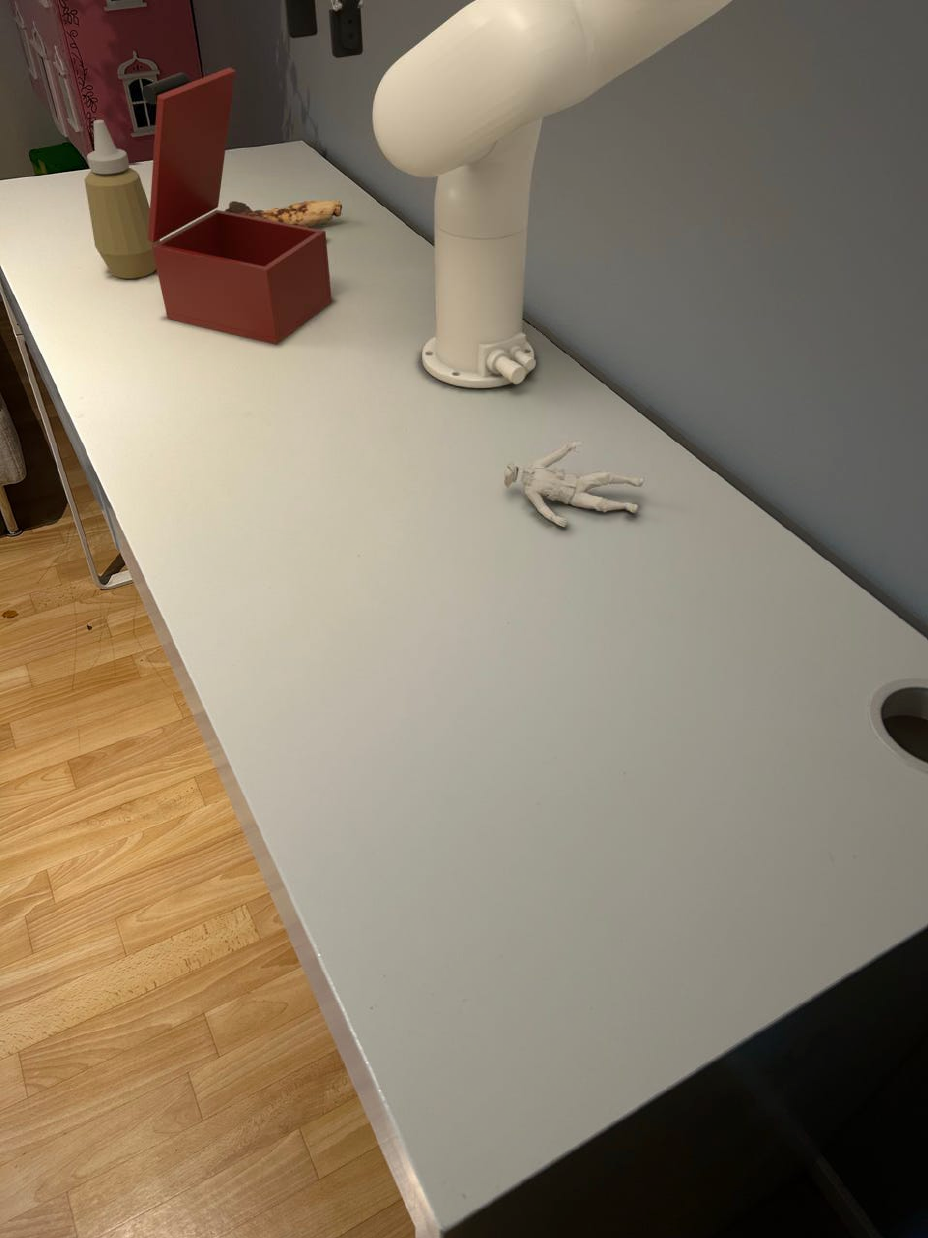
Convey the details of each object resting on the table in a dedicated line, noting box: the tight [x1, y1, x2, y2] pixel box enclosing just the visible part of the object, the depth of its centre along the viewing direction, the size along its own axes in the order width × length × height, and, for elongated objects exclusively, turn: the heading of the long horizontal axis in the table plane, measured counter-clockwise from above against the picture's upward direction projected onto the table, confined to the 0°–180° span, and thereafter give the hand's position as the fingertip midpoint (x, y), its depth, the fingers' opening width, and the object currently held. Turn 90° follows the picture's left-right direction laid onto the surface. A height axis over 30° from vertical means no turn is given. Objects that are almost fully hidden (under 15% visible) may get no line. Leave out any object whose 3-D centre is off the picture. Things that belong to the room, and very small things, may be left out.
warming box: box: [152, 209, 333, 346], centre depth 112 cm, size 16×13×9 cm
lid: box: [141, 67, 236, 243], centre depth 105 cm, size 16×13×5 cm
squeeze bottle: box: [84, 119, 161, 279], centre depth 117 cm, size 8×8×18 cm
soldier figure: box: [503, 441, 645, 528], centre depth 85 cm, size 8×5×12 cm
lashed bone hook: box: [224, 199, 343, 228], centre depth 130 cm, size 9×5×18 cm
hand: (324, 45), depth 96 cm, fingers open, 9 cm apart
